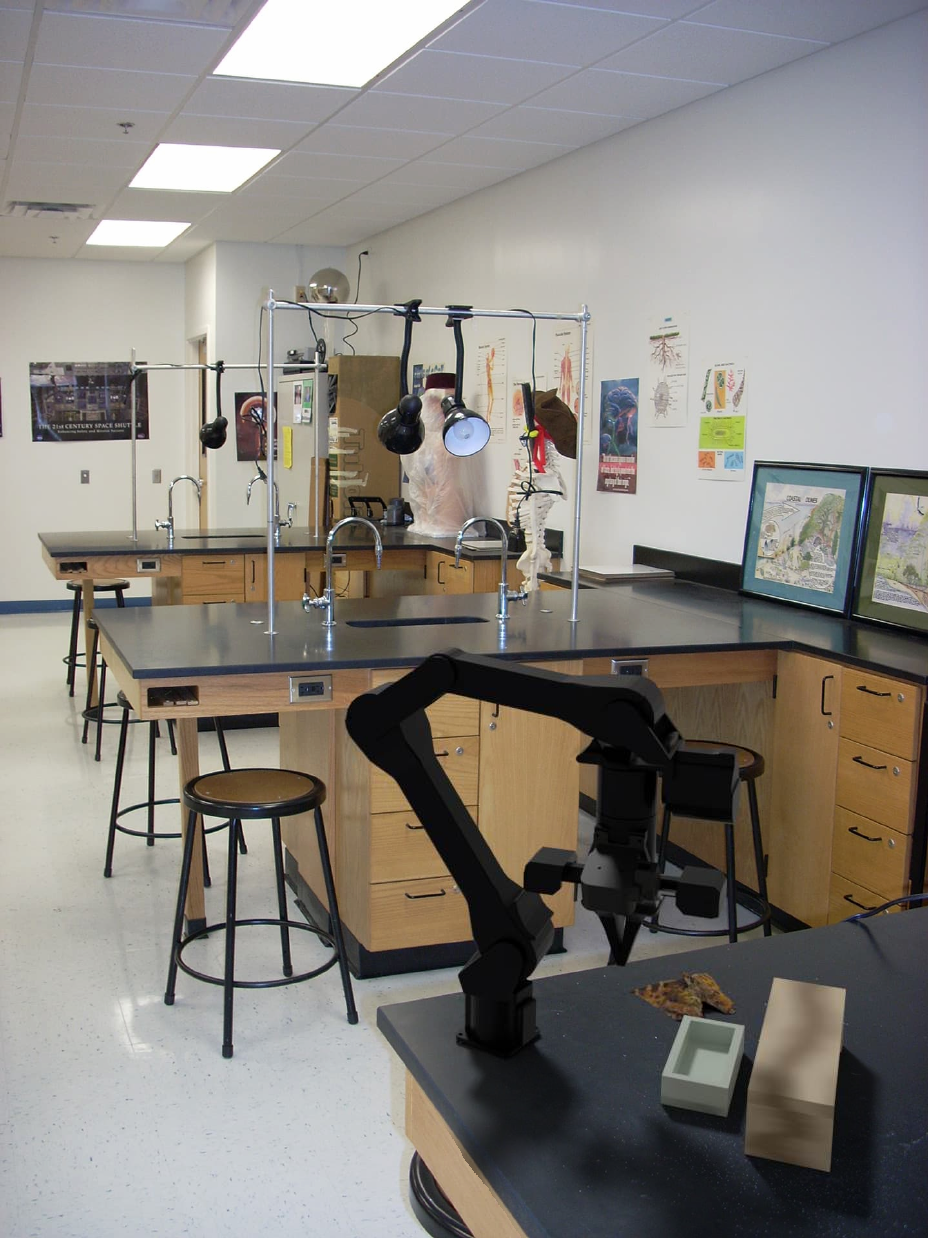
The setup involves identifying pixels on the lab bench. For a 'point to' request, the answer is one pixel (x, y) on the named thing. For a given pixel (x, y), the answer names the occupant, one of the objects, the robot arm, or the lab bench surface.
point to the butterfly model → (686, 996)
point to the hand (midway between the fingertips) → (621, 965)
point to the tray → (703, 1066)
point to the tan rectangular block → (796, 1075)
